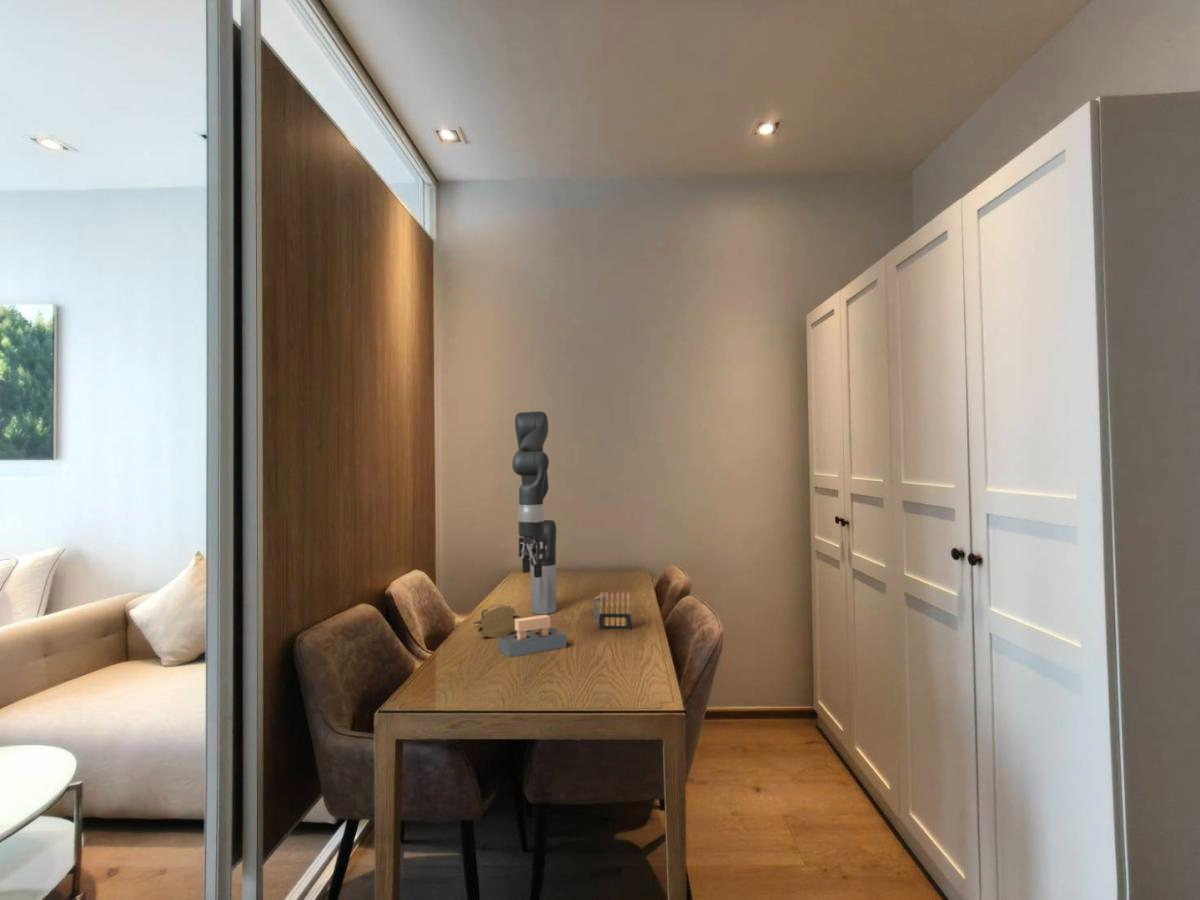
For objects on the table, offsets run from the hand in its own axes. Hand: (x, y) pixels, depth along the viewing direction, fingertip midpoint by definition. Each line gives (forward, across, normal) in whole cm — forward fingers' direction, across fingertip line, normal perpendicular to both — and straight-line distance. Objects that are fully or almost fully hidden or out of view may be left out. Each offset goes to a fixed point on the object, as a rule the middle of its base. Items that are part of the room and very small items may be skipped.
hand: (532, 574), depth 188 cm
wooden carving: (+22, -18, -4) cm, 28 cm away
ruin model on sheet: (+22, -22, +36) cm, 47 cm away
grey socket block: (+22, 0, 0) cm, 22 cm away
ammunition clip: (+22, -6, +32) cm, 39 cm away
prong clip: (+21, 0, 0) cm, 21 cm away
